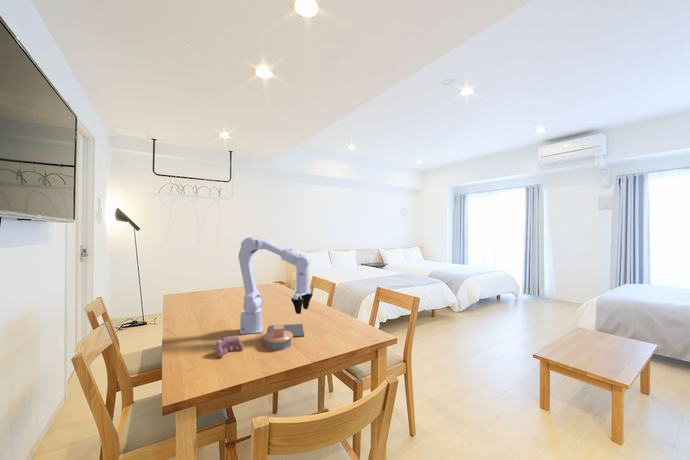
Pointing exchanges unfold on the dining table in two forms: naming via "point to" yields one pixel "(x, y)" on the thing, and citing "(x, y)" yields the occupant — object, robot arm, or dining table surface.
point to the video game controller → (225, 341)
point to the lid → (278, 335)
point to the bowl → (278, 345)
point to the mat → (291, 329)
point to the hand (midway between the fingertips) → (302, 311)
